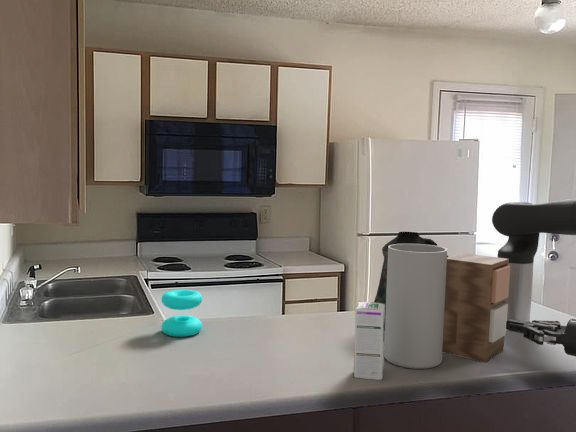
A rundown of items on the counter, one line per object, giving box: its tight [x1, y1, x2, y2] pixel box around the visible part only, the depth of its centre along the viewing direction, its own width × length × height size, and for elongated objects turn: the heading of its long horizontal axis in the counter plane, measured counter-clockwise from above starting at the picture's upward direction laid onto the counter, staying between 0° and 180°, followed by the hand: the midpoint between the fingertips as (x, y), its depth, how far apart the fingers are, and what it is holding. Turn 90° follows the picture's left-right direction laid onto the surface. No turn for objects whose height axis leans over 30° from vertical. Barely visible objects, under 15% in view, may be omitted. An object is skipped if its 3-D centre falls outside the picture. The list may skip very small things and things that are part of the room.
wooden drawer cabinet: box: [442, 252, 509, 363], centre depth 134 cm, size 11×11×22 cm
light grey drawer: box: [489, 303, 508, 343], centre depth 133 cm, size 6×8×7 cm
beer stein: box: [373, 231, 449, 332], centre depth 155 cm, size 16×19×25 cm
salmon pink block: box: [491, 265, 510, 303], centre depth 132 cm, size 6×8×7 cm
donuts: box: [160, 289, 203, 338], centre depth 145 cm, size 10×10×10 cm
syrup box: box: [353, 301, 385, 381], centre depth 119 cm, size 6×6×14 cm
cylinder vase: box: [384, 244, 448, 370], centre depth 128 cm, size 12×12×25 cm
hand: (507, 324), depth 130 cm, fingers closed
